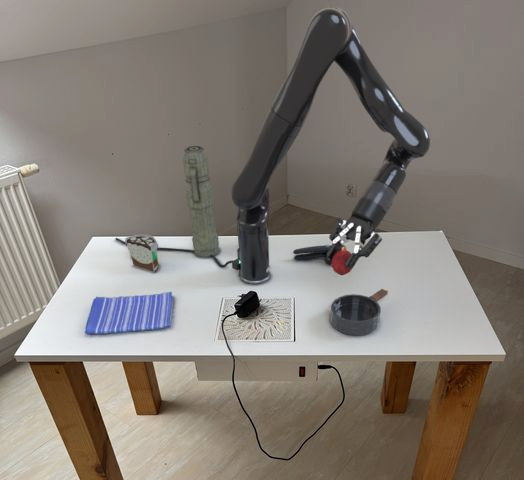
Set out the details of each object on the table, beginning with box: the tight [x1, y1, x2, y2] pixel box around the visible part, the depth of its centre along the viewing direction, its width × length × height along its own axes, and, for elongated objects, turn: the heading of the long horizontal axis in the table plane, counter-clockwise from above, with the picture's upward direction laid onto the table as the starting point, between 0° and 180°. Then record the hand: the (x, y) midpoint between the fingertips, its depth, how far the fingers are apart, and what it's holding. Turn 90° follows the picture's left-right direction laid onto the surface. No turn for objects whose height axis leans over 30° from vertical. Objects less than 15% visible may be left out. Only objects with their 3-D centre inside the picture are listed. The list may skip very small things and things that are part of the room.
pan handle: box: [368, 288, 389, 303], centre depth 135 cm, size 7×2×2 cm, turn 133°
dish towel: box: [84, 291, 174, 335], centre depth 138 cm, size 17×24×3 cm
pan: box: [329, 294, 382, 336], centre depth 130 cm, size 13×13×5 cm
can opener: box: [292, 244, 346, 265], centre depth 158 cm, size 18×7×6 cm, turn 81°
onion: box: [330, 246, 354, 276], centre depth 122 cm, size 6×6×8 cm
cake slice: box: [124, 233, 159, 274], centre depth 158 cm, size 12×6×10 cm, turn 58°
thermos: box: [182, 145, 220, 259], centre depth 156 cm, size 9×12×35 cm
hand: (338, 263), depth 121 cm, fingers closed on onion, 5 cm apart
